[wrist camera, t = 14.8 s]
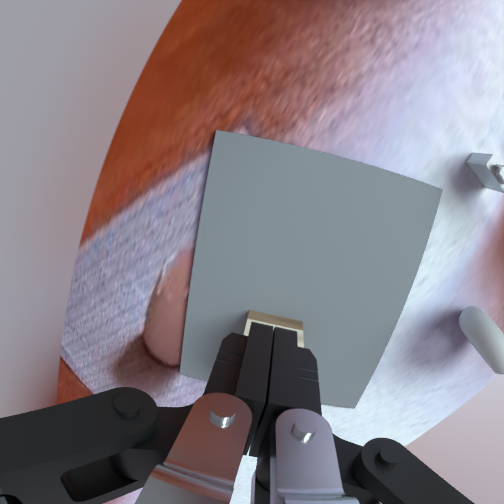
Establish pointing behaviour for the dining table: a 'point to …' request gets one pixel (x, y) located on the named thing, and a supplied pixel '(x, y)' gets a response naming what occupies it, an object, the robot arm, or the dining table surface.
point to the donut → (484, 337)
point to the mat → (305, 255)
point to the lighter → (487, 170)
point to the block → (276, 324)
